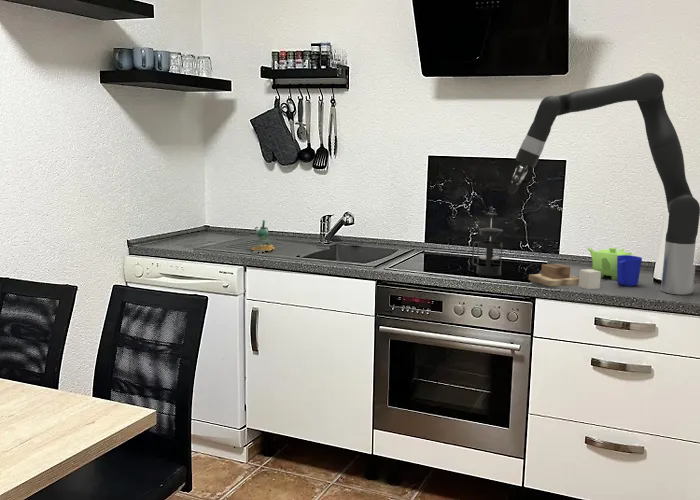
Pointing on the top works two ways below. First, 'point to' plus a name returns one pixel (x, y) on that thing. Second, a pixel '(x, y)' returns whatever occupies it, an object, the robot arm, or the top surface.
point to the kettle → (606, 261)
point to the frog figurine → (263, 235)
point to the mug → (628, 270)
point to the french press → (488, 251)
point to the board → (553, 280)
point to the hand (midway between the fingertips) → (511, 192)
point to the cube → (589, 279)
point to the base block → (555, 271)
